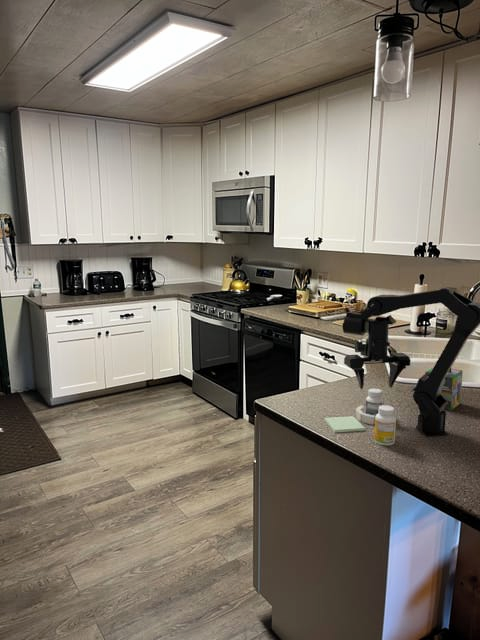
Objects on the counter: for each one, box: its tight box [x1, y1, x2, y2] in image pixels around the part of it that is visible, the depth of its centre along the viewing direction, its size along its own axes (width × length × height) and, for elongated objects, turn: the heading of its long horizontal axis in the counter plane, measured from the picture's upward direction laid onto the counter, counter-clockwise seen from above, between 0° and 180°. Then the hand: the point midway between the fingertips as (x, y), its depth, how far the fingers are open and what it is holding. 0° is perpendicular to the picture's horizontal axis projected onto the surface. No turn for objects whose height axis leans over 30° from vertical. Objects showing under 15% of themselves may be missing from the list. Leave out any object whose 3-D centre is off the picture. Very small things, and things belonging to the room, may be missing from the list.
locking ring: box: [355, 405, 375, 426], centre depth 146 cm, size 10×10×2 cm
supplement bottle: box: [373, 404, 397, 446], centre depth 129 cm, size 5×5×10 cm
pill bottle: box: [365, 388, 385, 417], centre depth 145 cm, size 5×5×9 cm
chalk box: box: [424, 360, 463, 412], centre depth 156 cm, size 9×9×15 cm
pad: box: [324, 415, 366, 434], centre depth 141 cm, size 9×9×1 cm
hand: (375, 387), depth 144 cm, fingers open, 9 cm apart
